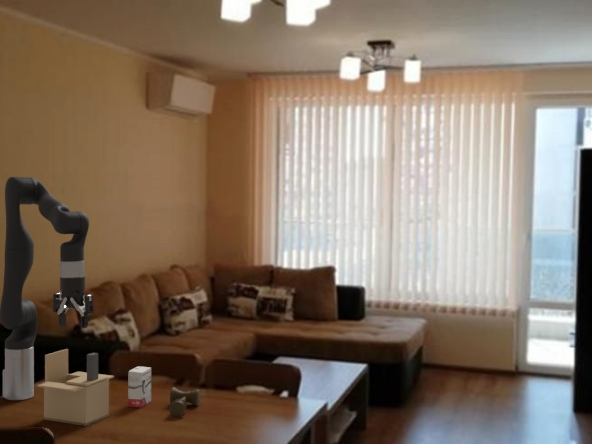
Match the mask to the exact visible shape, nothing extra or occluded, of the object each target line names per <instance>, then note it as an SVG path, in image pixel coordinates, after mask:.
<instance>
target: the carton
mask: <svg viewBox="0 0 592 444" xmlns="http://www.w3.org/2000/svg"><path fill="white" fill-rule="evenodd" d="M86 374H87V371H86V372H84V371H75V372H73V373H69V348H65V349H60V350H58V351H54V352H52V353H48V354H45V355H44V380H45V381H43V383H39V384H37V385H36V386H37V388H38V387H39V388H43V420H45V421H52V422H59V423H64V424H68V425H69V424H70V425H76V426H82V425H83V427H87V425H88V426H89V425H92V424H94V422H95V423H98V422H99V421H101V420H103V419H106V418H108V417H109V416H110V413H109V412H110V405H109V404H110V379H114V378H115V375H111V374H109V375H108V374H103V373H102V374H101V373H98V376H105V377H108V379H106V380H103V381H100V382H98V383H95V384H92V385H89V386H82V385H74V384H67V383H66V381H69V380H72V379H75V378H78V377H80V376H83V375H86Z"/></svg>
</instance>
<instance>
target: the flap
mask: <svg viewBox="0 0 592 444" xmlns="http://www.w3.org/2000/svg"><path fill="white" fill-rule="evenodd" d="M86 372H87V374H86V375H83V376H80V377H78V378H75V379H72V380H69V381H66V383H67V384H74V385H82V386H89V385H92V384H95V383H98V382H100V381H103V380H106V379H108V377H105V376H98V374H99V352H92V353H91V352H90V353H88V354H86Z"/></svg>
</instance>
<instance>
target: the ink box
mask: <svg viewBox="0 0 592 444" xmlns="http://www.w3.org/2000/svg"><path fill="white" fill-rule="evenodd" d="M127 373H128V379H127V380H128V382H127V384H128V385H127V390H128V391H127V394H128V395H127V397H128V398H127V400H128V402H127V404H128V407H130V408H143V407H145V406H146V405H147V404H149V403H151V401H152V367H149V366H148V367H147V366H142V365H141V366H140V365H139V366H136V367H134V368H132V369H129V371H128V372H127Z"/></svg>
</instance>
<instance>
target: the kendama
mask: <svg viewBox="0 0 592 444" xmlns="http://www.w3.org/2000/svg"><path fill="white" fill-rule="evenodd" d="M170 389H171V391H170V394H169V406H168V413H169V414H170V416H172V417H176V418H180V417H182V416H184V414H185V411H186V409H187V403H190V404H191V405H194V406H195V407H199V405H200V402H201V390H200V389H199V388H198V389H194V390H192V391H190V390H188V391H182V390H180V389H178V388H177V387H175V386H173V387H171V388H170Z"/></svg>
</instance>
